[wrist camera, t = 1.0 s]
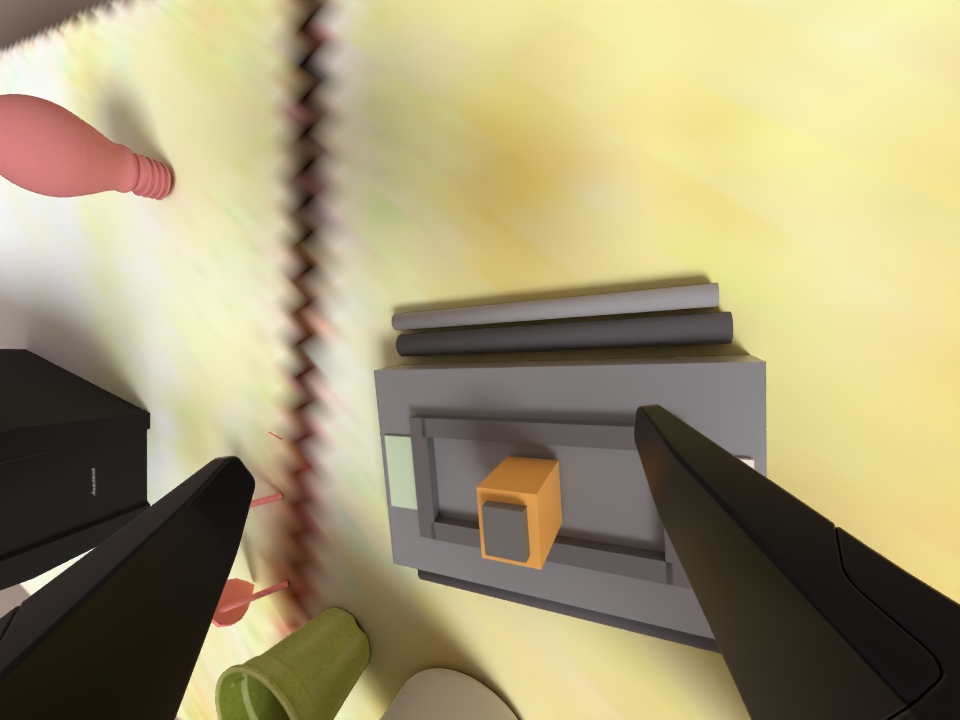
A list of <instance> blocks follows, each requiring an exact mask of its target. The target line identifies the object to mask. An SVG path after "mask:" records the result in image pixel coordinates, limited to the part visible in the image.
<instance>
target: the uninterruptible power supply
mask: <svg viewBox="0 0 960 720" xmlns="http://www.w3.org/2000/svg"><path fill="white" fill-rule="evenodd" d="M147 429H150V413H148V412H147V411H145V410H143V409H141V408H139V407H137V406H135V405H133V404H131V403H129V402H127V401H125V400H123V399H121V398H119V397H117V396H115V395H113V394H111V393H110V392H108V391H106V390H104V389H102V388H100V387H98V386H96V385H94V384H92V383H90V382H88V381H86V380H84V379H82V378H80V377H78V376H76V375H74V374H73V373H71V372H69V371H67V370H65V369H63V368H61V367H59V366H57V365H55V364H53V363H51V362H49V361H47V360H45V359H43V358H41V357H39V356H37V355H36V354H34V353H32V352H30V351H28V350H26V349H0V590H3V589H5V588H8V587H11V586H14V585H16V584H19V583H22V582H25V581H28V580H30V579H33V578H35V577H37V576H39V575H41V574H43V573H45V572H47V571H49V570H51V569H53V568H55V567H57V566H59V565H61V564H63V563H65V562H67V561H69V560H71V559H73V558H75V557H77V556H79V555H81V554H83V553H85V552H87V551H89V550H91V549H93V548H95V547H97V546H98V545H100V544H101V543H102V542H104V541H105V540H106V539H108V538H109V537H110V536H112V535H113V534H114V533H116V532H117V531H118V530H120V529H121V528H122V527H124V526H125V525H126V524H128V523H129V522H130V521H132V520H133V519H134V518H136V517H137V516H138V515H140V514H141V513H142V512H144V511H145V510H146V509H148V508H149V507H150V504H149V503H148V502H147Z"/></svg>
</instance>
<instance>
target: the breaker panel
mask: <svg viewBox="0 0 960 720" xmlns="http://www.w3.org/2000/svg"><path fill="white" fill-rule="evenodd" d="M374 375H375V385H376V395H377V405H378V415H379V425H380V434H381V444H382V454H383V464H384V474H385V484H386V494H387V503H388V513H389V523H390V533H391V543H392V553H393V562H394V564H398V565H402V566H407V567H411V568H415V569H419V570H424V571H428V572H432V573H436V574H441V575H445V576H449V577H453V578H458V579H462V580H466V581H470V582H474V583H479V584H483V585H487V586H491V587H496V588H500V589H504V590H508V591H513V592H517V593H521V594H525V595H530V596H534V597H538V598H542V599H547V600H551V601H555V602H559V603H563V604H568V605H572V606H576V607H580V608H585V609H589V610H593V611H597V612H602V613H606V614H610V615H614V616H619V617H623V618H627V619H631V620H635V621H640V622H644V623H648V624H652V625H657V626H661V627H665V628H669V629H674V630H678V631H682V632H686V633H691V634H695V635H699V636H703V637H707V638H712V639H715V638H714V636H713V633H712V631H711V629H710V627H709V624H708V622H707V620H706V618H705V616H704V613H703V611H702V609H701V607H700V605H699V602H698V600H697V598H696V596H695V594H694V591H693V589H692V587H691V585H690V583H689V580H688V578H687V576H686V574H685V572H684V569H683V567H682V565H681V563H680V560H679V558H678V556H677V554H676V552H675V549H674V547H673V545H672V543H671V541H670V538H669V536H668V534H667V532H666V530H665V527H664V525H663V523H662V521H661V518H660V516H659V514H658V511H657V509H656V506H655V503H654V500H653V497H652V494H651V491H650V488H649V485H648V481H647V478H646V475H645V472H644V469H643V466H642V463H641V460H640V457H639V453H638V450H637V447H636V444H635V440H634V428H635V419H636V411H637V408H638V407H639V406H642V405H651V404H658V405H661V406H662V407H664V408H665V409H667V410H668V411H670V412H671V413H672V414H674V415H675V416H677V417H678V418H680V419H681V420H683V421H684V422H686V423H687V424H689V425H690V426H692V427H693V428H695V429H696V430H697V431H699V432H700V433H702V434H703V435H705V436H706V437H708V438H709V439H711V440H712V441H714V442H715V443H717V444H718V445H720V446H721V447H722V448H724V449H725V450H727V451H728V452H730V453H731V454H733V455H734V456H736V457H737V458H739V459H740V460H742V461H743V462H745V463H746V464H747V465H749V466H750V467H752V468H753V469H755V470H756V471H758V472H759V473H761V474H762V475H764V476H765V477H766V362H765V361H763V360H761V359H759V358H757V357H754V356H752V355H725V356H691V357H656V358H621V359H587V360H552V361H517V362H483V363H448V364H413V365H397V366H393V367H388V368H383V369H379V370H374ZM507 456H513V457H525V458H538V459H550V460H559V474H560V491H561V509H562V524H561V526H560V528H559V531H558V533H557V535H556V538H555V540H554V542H553V544H552V547H551V549H550V551H549V553H548V556H547V558H546V560H545V563H544V565H543V567H542V569H541V570H540V569H535V568H530V567H525V566H520V565H515V564H511V563H506V562H501V561H496V560H491V559H486V558H482V552H481V540H480V527H479V514H478V502H477V489H476V487H477V486H478V485H479V484H480V483H481V482H482V481H483V480H484V479H485V478H486V477H487V476H488V475H489V474H490V473H491V472H492V471H493V470H494V469H495V468H496V467H497V466H498V465H499V464H500V463H501V462H502V461H503V460H504V459H505V458H506V457H507Z"/></svg>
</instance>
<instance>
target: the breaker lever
mask: <svg viewBox="0 0 960 720" xmlns="http://www.w3.org/2000/svg"><path fill="white" fill-rule="evenodd" d="M476 489H477V502H478V514H479V527H480V540H481V552H482V558H486V559H491V560H496V561H501V562H506V563H511V564H515V565H520V566H525V567H530V568H535V569H540V570H541V569H542V567H543V565H544V563H545V560H546V558H547V556H548V553H549V551H550V549H551V547H552V544H553V542H554V540H555V538H556V535H557V533H558V531H559V528H560V526H561V524H562V509H561V491H560V474H559V460H550V459H538V458H525V457H513V456H507V457H506V458H505V459H504V460H503V461H502V462H501V463H500V464H499V465H498V466H497V467H496V468H495V469H494V470H493V471H492V472H491V473H490V474H489V475H488V476H487V477H486V478H485V479H484V480H483V481H482V482H481V483H480V484H479V485H478V486H477V487H476Z"/></svg>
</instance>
